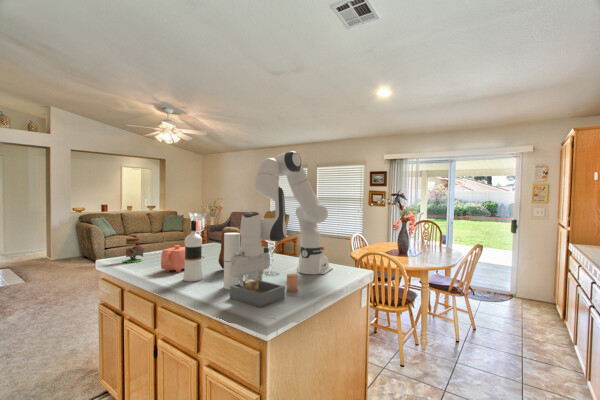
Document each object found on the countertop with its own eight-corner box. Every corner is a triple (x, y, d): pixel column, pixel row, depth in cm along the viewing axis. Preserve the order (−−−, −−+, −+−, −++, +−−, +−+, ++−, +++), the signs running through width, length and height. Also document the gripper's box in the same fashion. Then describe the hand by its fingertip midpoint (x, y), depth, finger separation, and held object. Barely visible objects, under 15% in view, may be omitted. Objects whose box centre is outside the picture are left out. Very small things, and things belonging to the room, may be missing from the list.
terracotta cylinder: (291, 287, 134) (291, 272, 134) (299, 290, 131) (300, 274, 131) (284, 290, 130) (284, 275, 130) (293, 292, 127) (293, 277, 127)
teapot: (179, 264, 179) (179, 241, 179) (198, 266, 176) (198, 242, 176) (154, 273, 157) (154, 247, 157) (175, 275, 154) (175, 248, 154)
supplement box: (247, 284, 140) (248, 258, 140) (244, 280, 147) (244, 255, 146) (262, 282, 143) (262, 257, 143) (258, 278, 149) (258, 254, 149)
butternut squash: (246, 268, 171) (247, 226, 171) (236, 274, 158) (237, 228, 158) (225, 267, 174) (225, 225, 174) (213, 272, 161) (214, 227, 161)
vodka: (179, 281, 143) (180, 220, 143) (189, 276, 152) (190, 219, 152) (196, 282, 141) (197, 221, 141) (206, 277, 151) (206, 220, 150)
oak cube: (250, 290, 127) (250, 279, 127) (258, 293, 124) (258, 281, 124) (241, 293, 123) (241, 281, 123) (249, 296, 120) (249, 284, 120)
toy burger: (142, 262, 183) (142, 239, 183) (119, 263, 180) (120, 239, 179) (146, 259, 195) (146, 236, 195) (124, 260, 191) (125, 237, 191)
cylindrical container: (226, 284, 139) (226, 232, 138) (241, 284, 138) (241, 232, 138) (221, 289, 131) (222, 234, 131) (237, 289, 131) (237, 234, 131)
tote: (254, 289, 131) (254, 278, 131) (284, 298, 121) (284, 286, 121) (229, 297, 120) (230, 285, 120) (260, 308, 109) (261, 294, 109)
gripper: (237, 255, 113) (237, 290, 113) (272, 248, 129) (272, 278, 129) (226, 253, 117) (226, 287, 117) (262, 246, 133) (262, 276, 133)
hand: (250, 282), depth 123 cm, fingers open, 8 cm apart
